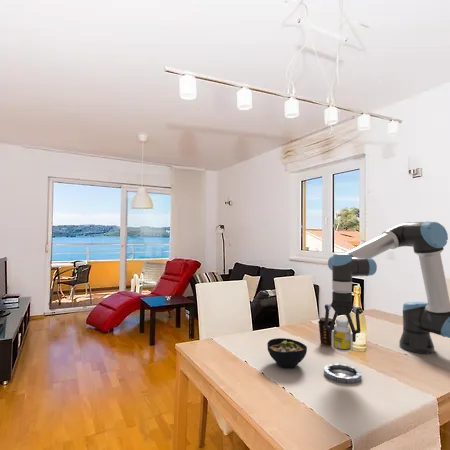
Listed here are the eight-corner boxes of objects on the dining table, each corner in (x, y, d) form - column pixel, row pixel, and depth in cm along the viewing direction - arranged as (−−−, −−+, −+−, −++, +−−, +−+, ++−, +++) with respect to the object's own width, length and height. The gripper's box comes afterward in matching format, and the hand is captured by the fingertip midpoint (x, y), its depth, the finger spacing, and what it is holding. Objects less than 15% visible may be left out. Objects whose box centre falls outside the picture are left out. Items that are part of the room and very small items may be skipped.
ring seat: (361, 372, 132) (361, 367, 132) (360, 386, 119) (360, 381, 119) (326, 366, 138) (326, 361, 138) (322, 379, 125) (322, 374, 125)
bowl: (283, 376, 127) (283, 351, 128) (259, 361, 143) (259, 339, 143) (315, 368, 135) (315, 345, 135) (289, 355, 150) (289, 333, 151)
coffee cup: (333, 341, 169) (333, 317, 170) (337, 347, 161) (337, 321, 161) (316, 341, 170) (316, 316, 170) (320, 346, 162) (320, 321, 162)
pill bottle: (331, 346, 132) (331, 318, 132) (346, 346, 132) (345, 318, 133) (338, 352, 125) (337, 322, 126) (353, 352, 126) (353, 322, 126)
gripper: (368, 291, 129) (368, 348, 128) (318, 288, 137) (318, 341, 136) (368, 294, 122) (368, 355, 121) (316, 290, 130) (316, 347, 129)
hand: (342, 348), depth 129 cm, fingers closed on pill bottle, 6 cm apart
